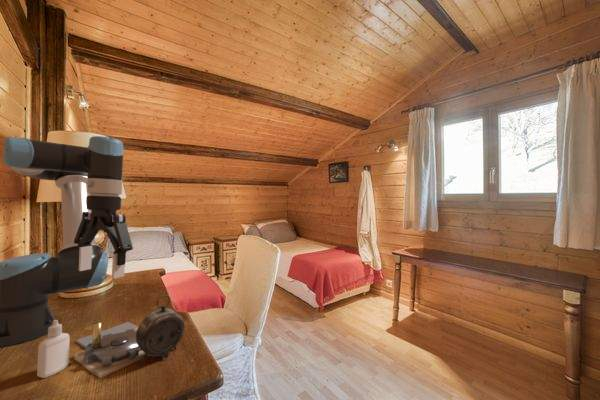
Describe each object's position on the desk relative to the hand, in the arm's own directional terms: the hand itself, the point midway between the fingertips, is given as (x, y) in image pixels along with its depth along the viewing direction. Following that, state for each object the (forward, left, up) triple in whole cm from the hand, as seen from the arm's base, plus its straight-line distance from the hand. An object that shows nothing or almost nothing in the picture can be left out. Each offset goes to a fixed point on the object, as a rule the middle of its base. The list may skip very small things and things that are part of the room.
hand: (100, 273), depth 71 cm
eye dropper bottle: (+1, -9, -21) cm, 23 cm away
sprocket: (+5, +3, -20) cm, 21 cm away
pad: (-7, +6, -21) cm, 23 cm away
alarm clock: (+16, +8, -21) cm, 28 cm away
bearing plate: (+5, +3, -21) cm, 22 cm away
